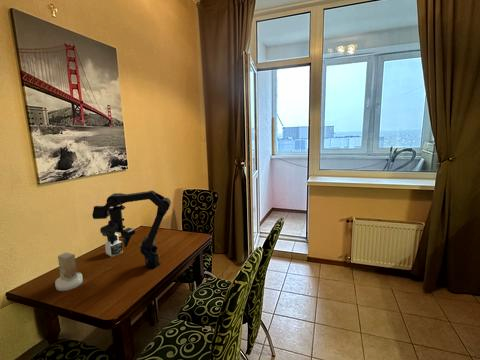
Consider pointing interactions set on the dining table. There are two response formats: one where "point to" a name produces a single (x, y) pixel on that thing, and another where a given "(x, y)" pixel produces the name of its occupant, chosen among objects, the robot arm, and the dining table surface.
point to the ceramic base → (68, 283)
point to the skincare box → (67, 266)
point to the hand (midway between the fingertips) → (119, 245)
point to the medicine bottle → (114, 247)
